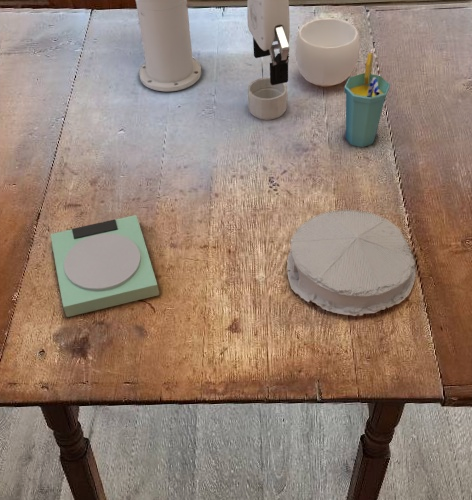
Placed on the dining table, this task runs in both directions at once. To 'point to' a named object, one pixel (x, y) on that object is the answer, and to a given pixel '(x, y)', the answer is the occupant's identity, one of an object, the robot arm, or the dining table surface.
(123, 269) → the scale
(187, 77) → the robot arm
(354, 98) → the cup
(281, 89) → the bowl
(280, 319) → the dining table surface
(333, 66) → the cup
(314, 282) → the grey round cake
